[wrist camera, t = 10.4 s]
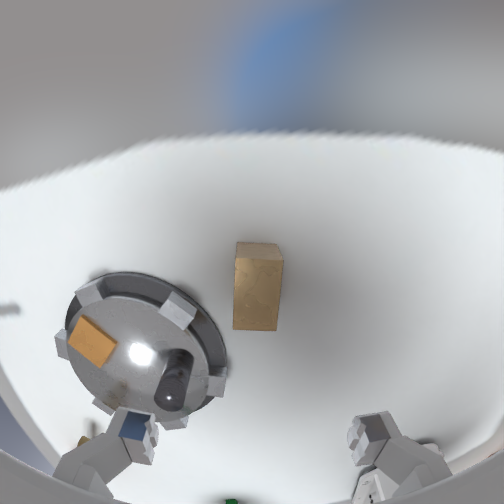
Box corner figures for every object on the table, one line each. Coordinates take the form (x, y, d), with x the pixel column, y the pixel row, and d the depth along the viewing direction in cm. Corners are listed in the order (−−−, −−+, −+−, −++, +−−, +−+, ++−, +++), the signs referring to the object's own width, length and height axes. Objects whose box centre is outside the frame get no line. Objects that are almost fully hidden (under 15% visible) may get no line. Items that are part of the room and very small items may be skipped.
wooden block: (271, 304, 28) (276, 331, 23) (235, 303, 28) (232, 329, 23) (276, 244, 26) (283, 260, 21) (237, 241, 26) (235, 257, 21)
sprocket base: (225, 418, 32) (225, 424, 31) (89, 397, 31) (86, 401, 30) (227, 278, 27) (227, 282, 26) (56, 266, 26) (51, 268, 25)
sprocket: (260, 351, 28) (264, 408, 20) (165, 435, 31) (153, 482, 24) (109, 239, 24) (62, 265, 17) (50, 356, 28) (18, 393, 20)
